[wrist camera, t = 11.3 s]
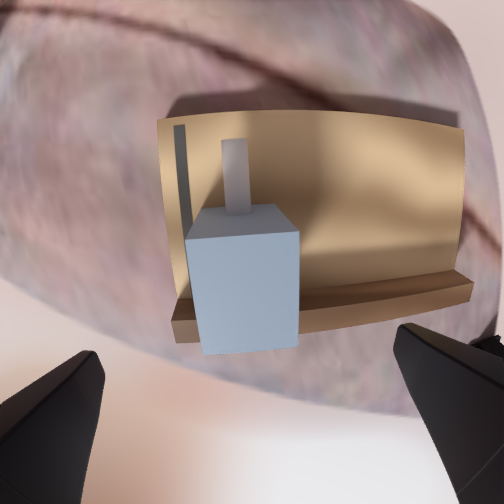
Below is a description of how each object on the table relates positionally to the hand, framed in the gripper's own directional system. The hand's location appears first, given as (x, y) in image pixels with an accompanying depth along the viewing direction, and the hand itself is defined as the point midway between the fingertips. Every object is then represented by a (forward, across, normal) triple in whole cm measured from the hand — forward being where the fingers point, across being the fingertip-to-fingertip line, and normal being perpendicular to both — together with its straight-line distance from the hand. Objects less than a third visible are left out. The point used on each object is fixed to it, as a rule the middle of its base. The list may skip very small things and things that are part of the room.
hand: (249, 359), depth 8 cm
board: (+11, -6, -2) cm, 13 cm away
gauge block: (+10, 0, -2) cm, 10 cm away
